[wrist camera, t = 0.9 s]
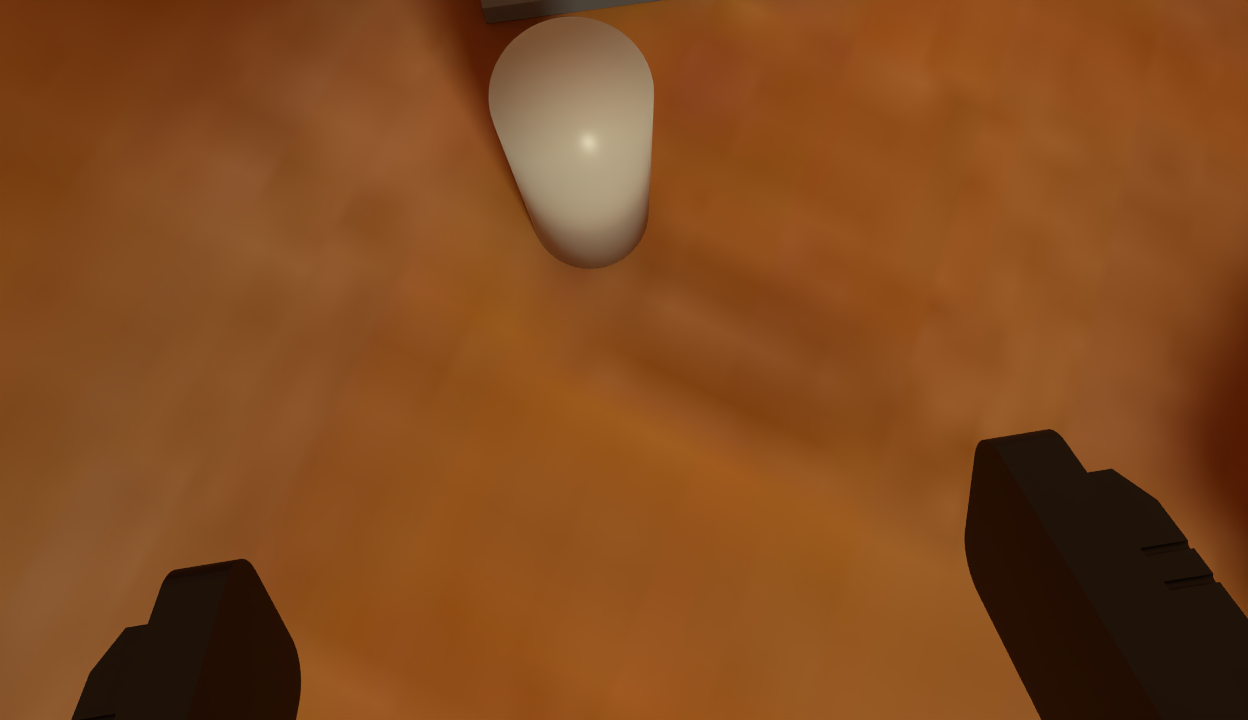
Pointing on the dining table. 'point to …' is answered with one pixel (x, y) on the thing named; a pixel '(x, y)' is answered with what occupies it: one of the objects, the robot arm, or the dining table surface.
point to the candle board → (543, 7)
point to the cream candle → (577, 136)
